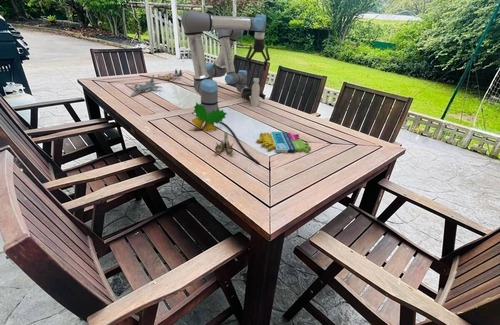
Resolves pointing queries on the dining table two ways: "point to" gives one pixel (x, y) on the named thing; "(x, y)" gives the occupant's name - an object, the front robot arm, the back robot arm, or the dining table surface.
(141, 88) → the airplane
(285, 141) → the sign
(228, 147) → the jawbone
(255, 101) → the bottle
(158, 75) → the toy
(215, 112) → the ornament
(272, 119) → the dining table surface
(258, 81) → the cap
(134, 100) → the dining table surface
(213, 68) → the back robot arm
